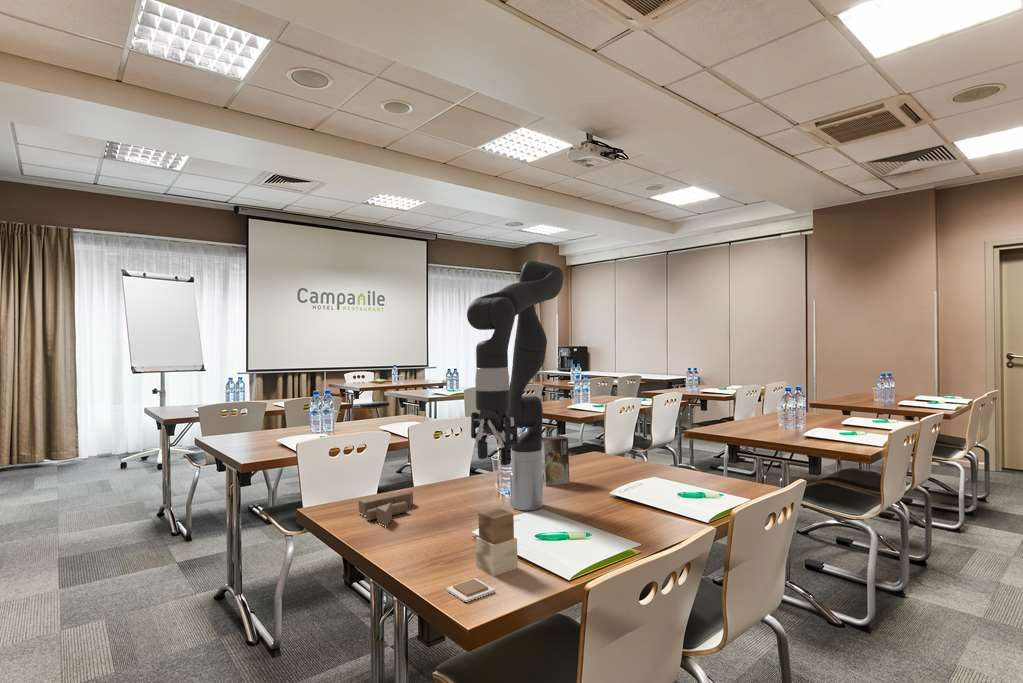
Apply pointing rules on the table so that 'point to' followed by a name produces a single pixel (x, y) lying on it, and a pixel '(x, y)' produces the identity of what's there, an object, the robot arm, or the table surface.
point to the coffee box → (555, 461)
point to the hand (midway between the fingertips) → (493, 461)
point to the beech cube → (496, 556)
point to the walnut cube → (496, 525)
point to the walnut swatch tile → (470, 590)
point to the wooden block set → (386, 506)
